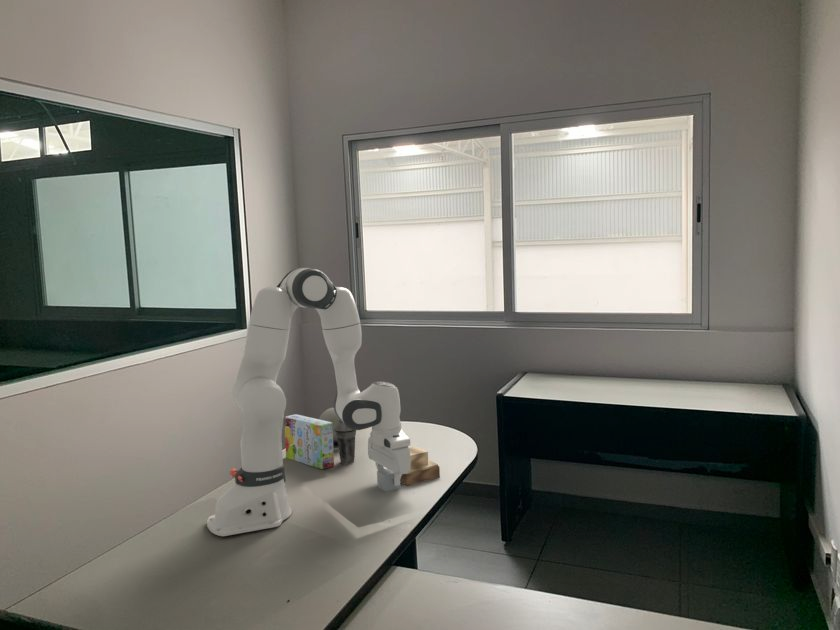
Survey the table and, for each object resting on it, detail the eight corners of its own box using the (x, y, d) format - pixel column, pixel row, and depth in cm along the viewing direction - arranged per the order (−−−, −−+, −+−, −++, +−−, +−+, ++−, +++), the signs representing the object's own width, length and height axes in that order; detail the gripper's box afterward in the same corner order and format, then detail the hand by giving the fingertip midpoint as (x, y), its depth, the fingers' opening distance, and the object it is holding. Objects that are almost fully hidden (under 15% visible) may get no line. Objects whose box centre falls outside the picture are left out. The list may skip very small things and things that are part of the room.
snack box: (335, 466, 209) (333, 421, 208) (322, 470, 205) (320, 425, 204) (298, 454, 224) (295, 412, 222) (284, 458, 219) (282, 416, 218)
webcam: (361, 445, 231) (359, 405, 230) (339, 455, 220) (337, 413, 219) (333, 441, 238) (331, 402, 237) (311, 450, 227) (309, 410, 226)
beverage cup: (362, 461, 213) (359, 403, 211) (349, 467, 207) (346, 408, 205) (345, 458, 217) (343, 401, 215) (332, 464, 211) (329, 406, 209)
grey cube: (385, 492, 184) (384, 475, 183) (377, 487, 188) (376, 471, 188) (400, 488, 186) (399, 471, 186) (392, 483, 191) (391, 467, 190)
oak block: (409, 468, 191) (408, 456, 191) (397, 462, 197) (397, 450, 197) (428, 464, 195) (427, 451, 195) (416, 458, 201) (416, 446, 200)
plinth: (406, 485, 188) (406, 472, 188) (387, 474, 198) (386, 462, 198) (439, 477, 194) (439, 464, 194) (419, 467, 205) (419, 455, 204)
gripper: (361, 430, 193) (363, 473, 194) (394, 445, 176) (396, 493, 177) (379, 426, 196) (381, 469, 198) (413, 441, 179) (415, 487, 180)
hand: (389, 480), depth 187 cm, fingers open, 8 cm apart
